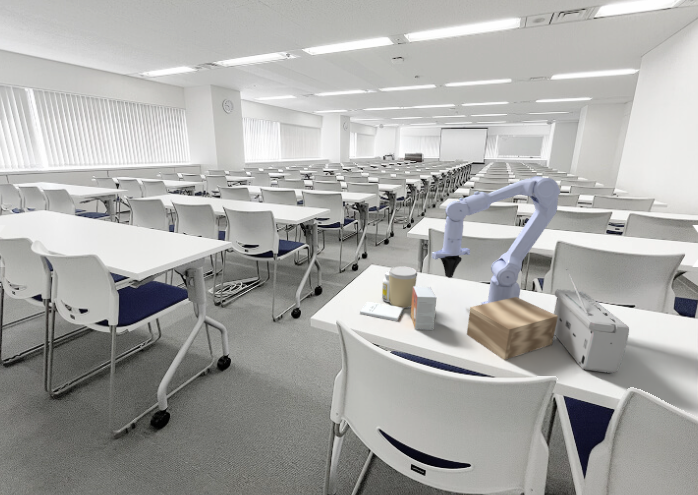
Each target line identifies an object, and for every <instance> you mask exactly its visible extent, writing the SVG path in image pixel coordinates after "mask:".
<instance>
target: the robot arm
mask: <svg viewBox="0 0 698 495" xmlns="http://www.w3.org/2000/svg"><path fill="white" fill-rule="evenodd" d="M560 194H561V189H560V187H559V185H558V182H557V181H556V180H555V179H554V178H551V177H542V176H539V175H536V176H532V177H530V178H524V179H521V180H519V181H515V182H513V183H510V184H508V185H505V186H503V187H501V188H499V189H496V190H494V191H491V192H484V191H480V192H479V191H478V190H477V191H473V194H471V195H469V196H466V197H464V198H463V197H460V198H459V199H458V200H459V201H458V200H453V201H450V202H449V203H448V204H447V205H446V207H445V209H444V210H445V213H446V215H447V216H446V218H445V225H444V233H443V243H442V245H443V246H442V248H441V249H439V250H437V251H432V252H431V259H433V260H436V261H437V260H439V259H440V261H441V262H442V265H443V269H444V274H445V277H447V278H448V279H449V278H453V277H454V274H455V271H456V269H457V267H458V266H459V264H460V263H461V262H462V260H463V258H462V257H461V256H464V255H466V256H469V255H471V249H470V248H468V247H463V248H462V241H463V234H464V233H463V232H464V219H465V218H466V217H467V216H472V215H474V214H477V213H479V212H483V211H485V210H489V208H490V207H491V205H492V204H493V203H496V202H500V201H504V200H506V199H509V198H514V197H516V196H525V197H529V198H531V199H530V200H532V202H533V206H534V212H533V213H532V214H531V216H530V217H529V219H528V220H527V222H526V224H525V225H524V226H523V228H522V229H521V231H520V233H518V235H517V236H516V238H515V240H514V241H513V242H512V244H511V245H510V247H509V248H508V250H507V251H506V252H504V253H503V254H501V255H500V257H499V258H497V259H496V260H495V261H493V262H492V264H491V266H490V270H491V274H493V275H492V277H491V278H490V283H489V290H488V297H487V298H488V299H487V300H486V301H482V302H481V305H482V304H487V303H491V302H495V301H500V300H504V299H509V298H513V297H517V298H520V294H521V287H520V285H519V283H518V282H517V281H518V278H519V274H520V271H522V267H523V266H522V265H523V261H524V260H525V257H527V255H528V253H529V252H530V250H531V249H532V248H533V247H534V245H535V244H536V243H537V241H538V239H539V238H540V237H541V236H542V234H543V232H544V231H545V230H546V228H547V226H548V225H549V223H550V222H551V221H552V220H553V218H554V217H555V216H556V213H557V210H558V203H559V202H558V201H559V195H560Z"/></svg>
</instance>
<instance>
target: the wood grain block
mask: <svg viewBox="0 0 698 495" xmlns="http://www.w3.org/2000/svg"><path fill="white" fill-rule="evenodd" d="M468 313H469V314H468V315H469V316H468V321H467V322H468V323H467V329H466V330H467V331H466V335H467V336H468V337H470V338H471V339H473V340H474V341H475V342H477V343H479V344H480V345H481V346H483V347H485V348H486V349H488V350H489V351H491V352H492V353H494V354H495V355H496V356H498V358H500V359H502V360H504V361H505V360H508V359H511V358H514V357H517V356H520V355H523V354H528V353H530V352H533V351H536V350H539V349H542V348H545V347H549V346H552V345H553V341H554V338H555V337H554V336H555V334H554V332H555V327H556V323H557V318H558V316H557V315H555V314H554V312H553V313H552V312H550V311H548V310H546V309H544V308H542V307H539V306H537V305H534V304H533V303H530V302H529V301H527V300H524V299H522V298H520V297H519V298H517V297H513V298H509V299H504V300H500V301H495V302H491V303H487V304H482V303H481V304H478V305H473V306H470V308H469V312H468Z"/></svg>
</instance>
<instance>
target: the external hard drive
mask: <svg viewBox="0 0 698 495" xmlns="http://www.w3.org/2000/svg"><path fill="white" fill-rule="evenodd" d="M403 311H404V308H403V307H397V306H392V305H391V304H383V303H378V302H371V301H366V303H365V304H364V305H363V306H362V308H361V309H360V310H359V315H363V316H369V317H374V318H380V319H385V320H388V321H389V320H390V321H395V322H399V320H400V318H401V316H402V314H403Z"/></svg>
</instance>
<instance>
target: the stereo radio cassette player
mask: <svg viewBox="0 0 698 495" xmlns="http://www.w3.org/2000/svg"><path fill="white" fill-rule="evenodd" d="M565 270H566V271H567V274H568V275H569V278H570V281H571V283H572V286H573V288H574V290H571V289H555V291H554V296H555V297H556V301H555V304H554V305H555V306H554V311H553V314H555V315H557V316H558V318H557V323H556V327H555V332H554V336H555V337H556V338H557V339H558V340H559V342H560V343H561V344H562V346H564V348H565V349H566V350H567V352H568V353H569V354H570V355H571V356H572V358H573V359H574V360H575V362H577V364H578V365H579V367H580V368H581V369H582V370H584V369H585V370H586V371H593V372H601V373H606V372H607V373H606V374H608V373H609V374H612V373H618V370H619V368H620V366H621V364H622V360H623V357H624V355H625V351H626V347H627V343H628V339H629V335H630V327H629V325H627V324H626V323H624V322H623V320H621V319H620V318H618V317H617V316H615V315H614V314H613V313H611V312H610V311H609V310H608V309H606V308H605V307H604V306H602V305H601V304H600V303H599V302H597V301H596V300H595V299H594V298H593V297H591V296H590V295H588V293H586V292H584V291H583V290H578V288H577V286H576V284H575V282H574V279H573V278H572V275H571V273H570V271H569V267H566V268H565Z"/></svg>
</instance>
